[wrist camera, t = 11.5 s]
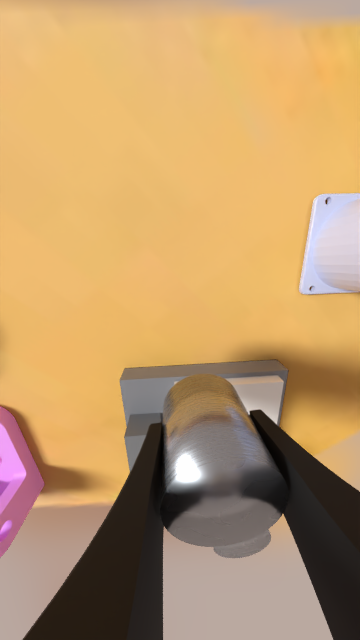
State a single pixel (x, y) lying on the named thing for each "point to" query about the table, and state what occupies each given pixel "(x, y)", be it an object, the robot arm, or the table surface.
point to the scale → (155, 382)
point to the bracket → (15, 479)
